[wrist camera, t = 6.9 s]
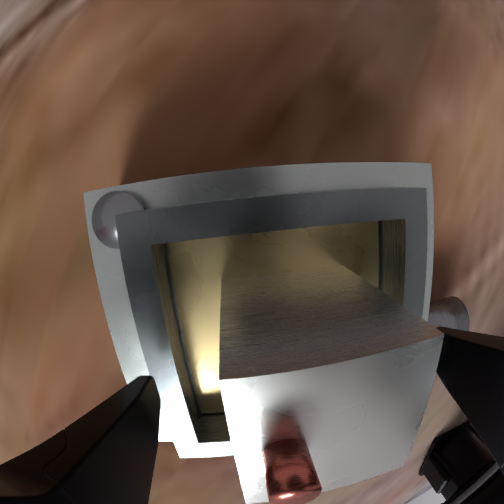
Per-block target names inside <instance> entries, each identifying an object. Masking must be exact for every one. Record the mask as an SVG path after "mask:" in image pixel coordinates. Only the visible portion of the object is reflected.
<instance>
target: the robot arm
mask: <svg viewBox="0 0 504 504" xmlns="http://www.w3.org/2000/svg"><path fill="white" fill-rule="evenodd" d="M436 328H437V329H438V330H440V331H441V332H442V333H444V338H443V343H442V348H441V353H440V357H439V362H438V366H437V370H436V372H437V374H438V376H439V377H440V379H441V381H442V382H443V384H444V386H445V387H446V389H447V390H448V392H449V393H450V394H451V396H452V397H453V398H454V400H455V401H456V403H457V404H458V405H459V407H460V408H461V410H462V411H463V413H464V414H465V415H466V417H467V418H468V420H469V421H468V422H466V423H465V424H463V425H461V426H459V427H457V428H456V429H454V430H452V431H450V432H448V433H446V434H444V435H442V436H440V437H438V438H436V439H435V440H434V441H433V443H432V445H431V448H430V450H429V452H428V454H427V457H426V459H425V461H424V463H423V465H422V467H421V469H420V471H419V475H420V476H422V475H425V476H426V478H427V479H428V481H429V482H430V484H431V485H432V487H433V488H434V490H435V491H436V493H438V494H439V493H442V495H443V496H444V498H445V499H446V501H445V502H444V503H441V504H504V337H500V336H494V335H487V334H482V333H476V332H470V331H464V330H459V329H453V328H448V327H442V326H439V327H436ZM160 410H161V398H160V395H159V392H158V388H157V385H156V382H155V379H154V377H153V376H151V375H141V376H138V377H137V378H136V379H134V380H133V381H131V382H130V383H129V384H127V385H126V386H124V387H123V388H122V389H120V390H119V391H118V392H116V393H115V394H113V395H112V396H111V397H109V398H108V399H106V400H105V401H103V402H102V403H101V404H99V405H98V406H96V407H95V408H93V409H92V410H91V411H89V412H88V413H86V414H85V415H83V416H82V417H81V418H79V419H78V420H76V421H75V422H73V423H72V424H70V425H69V426H67V427H66V428H65V430H61V431H60V432H59V433H57V434H56V435H54V436H53V437H51V438H49V439H48V440H46V441H45V442H43V443H41V444H40V445H38V446H36V447H34V448H32V449H31V450H29V451H27V452H25V453H23V454H21V455H19V456H17V457H15V458H13V459H11V460H9V461H7V462H5V463H3V464H1V465H0V504H148V501H149V495H150V489H151V482H152V477H153V471H154V465H155V460H156V454H157V448H158V441H159V425H160Z"/></svg>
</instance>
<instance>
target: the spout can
mask: <svg viewBox="0 0 504 504" xmlns="http://www.w3.org/2000/svg"><path fill="white" fill-rule="evenodd" d="M443 338H444V333H442V332H441V331H440V330H438V329H437V328H435V327H434V326H432V325H431V324H430V323H428V322H427V321H425V320H424V319H422V318H421V317H419V316H418V315H417V314H415V313H414V312H412V311H411V310H409V309H408V308H406V307H405V306H403V305H402V304H400V303H399V302H397V301H396V300H395V299H393V298H392V297H390V296H389V295H387V294H386V293H384V292H383V291H381V290H380V289H378V288H377V287H375V286H374V285H372V284H370V283H369V282H367V281H366V280H364V279H363V278H361V277H360V276H358V275H357V274H355V273H354V272H352V271H351V270H349V269H347V268H346V267H344V266H343V265H342V266H334V267H326V268H318V269H310V270H301V271H293V272H284V273H276V274H267V275H258V276H249V277H240V278H230V279H221V302H220V344H219V383H220V388H221V394H222V399H223V404H224V409H225V414H226V419H227V424H228V429H229V433H230V438H231V443H232V447H233V452H234V456H235V461H236V465H237V469H238V473H239V478H240V482H241V486H242V490H243V494H244V498H245V502H246V504H253V503H262V502H270V503H271V504H305V503H307V502H309V501H311V500H313V499H315V498H316V497H317V496H319V494H320V493H321V492H324V491H328V490H332V489H336V488H339V487H343V486H347V485H350V484H353V483H357V482H360V481H363V480H366V479H369V478H372V477H375V476H378V475H381V474H384V473H386V472H389V471H392V470H394V469H397V468H399V467H402V466H404V465H405V462H406V460H407V458H408V455H409V453H410V450H411V448H412V445H413V443H414V440H415V438H416V435H417V432H418V429H419V427H420V424H421V421H422V418H423V415H424V412H425V409H426V406H427V402H428V399H429V396H430V392H431V389H432V385H433V382H434V378H435V374H436V370H437V366H438V362H439V357H440V353H441V348H442V343H443Z"/></svg>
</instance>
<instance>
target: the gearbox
mask: <svg viewBox="0 0 504 504" xmlns="http://www.w3.org/2000/svg"><path fill="white" fill-rule="evenodd" d="M83 194H84V203H85V212H86V219H87V226H88V233H89V240H90V246H91V251H92V257H93V262H94V267H95V272H96V277H97V282H98V286H99V291H100V295H101V299H102V303H103V307H104V311H105V315H106V319H107V322H108V326H109V330H110V333H111V336H112V340H113V343H114V346H115V350H116V353H117V356H118V359H119V362H120V365H121V368H122V371H123V374H124V377H125V380H126V382H127V384H129V383H130V382H131V381H133V380H134V379H136V378H137V377H138V376H141V375H151V376H153V377H154V379H155V382H156V385H157V388H158V392H159V395H160V398H161V410H160V425H159V441H173V442H174V444H175V447H176V449H177V452H178V454H179V456H180V458H198V457H219V456H232V455H234V452H233V447H232V443H231V438H230V433H229V429H228V424H227V419H226V414H225V409H224V404H223V399H222V394H221V388H220V383H219V344H220V302H221V279H230V278H240V277H249V276H258V275H267V274H276V273H284V272H293V271H301V270H310V269H318V268H326V267H334V266H342V265H343V266H344V267H346V268H347V269H349V270H351V271H352V272H354V273H355V274H357V275H358V276H360V277H361V278H363V279H364V280H366V281H367V282H369V283H370V284H372V285H374V286H375V287H377V288H378V289H380V290H381V291H383V292H384V293H386V294H387V295H389V296H390V297H392V298H393V299H395V300H396V301H397V302H399V303H400V304H402V305H403V306H405V307H406V308H408V309H409V310H411V311H412V312H414V313H415V314H417V315H418V316H419V317H421V318H422V319H424V320H425V321H427V322H428V323H430V324H431V325H432V326H434V327H435V328H436V327H439V326H442V327H448V328H453V329H459V330H464V331H469V315H468V311H467V309H466V307H465V305H464V303H463V302H462V301H461V300H460V299H459V298H457V297H454V296H451V297H447V298H444V299H440V300H436V301H433V302H430V297H431V287H432V274H433V255H434V199H433V181H432V168H431V163H407V162H340V163H312V164H293V165H277V166H264V167H252V168H241V169H231V170H222V171H213V172H204V173H196V174H189V175H181V176H174V177H167V178H161V179H154V180H148V181H142V182H136V183H130V184H125V185H119V186H114V187H109V188H104V189H99V190H94V191H89V192H84V193H83Z"/></svg>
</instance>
